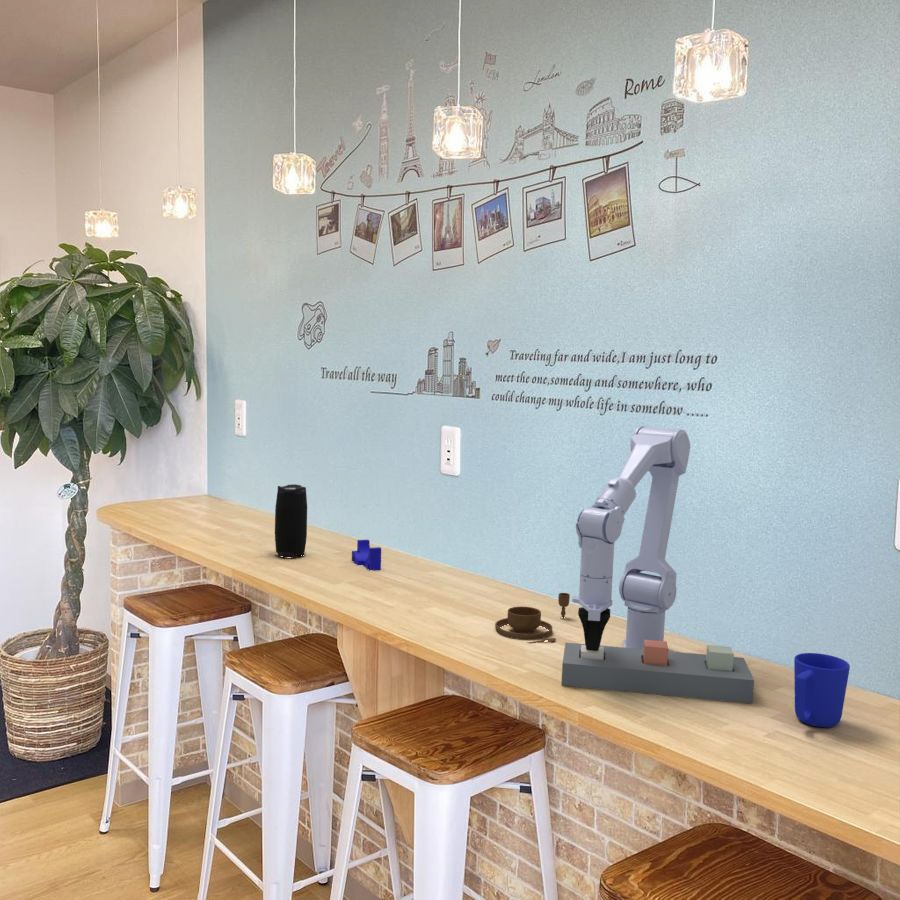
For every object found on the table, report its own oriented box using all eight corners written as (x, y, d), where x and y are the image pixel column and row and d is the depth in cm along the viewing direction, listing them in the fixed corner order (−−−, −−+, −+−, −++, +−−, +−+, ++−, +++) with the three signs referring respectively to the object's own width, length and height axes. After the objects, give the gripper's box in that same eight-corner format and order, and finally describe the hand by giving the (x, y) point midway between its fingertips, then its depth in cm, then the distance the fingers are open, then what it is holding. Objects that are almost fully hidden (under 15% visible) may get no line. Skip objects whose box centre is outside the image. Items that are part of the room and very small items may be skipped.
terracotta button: (642, 661, 163) (643, 639, 162) (665, 663, 162) (666, 641, 162) (643, 668, 159) (644, 646, 158) (666, 670, 158) (668, 648, 158)
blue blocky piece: (351, 561, 248) (352, 540, 248) (367, 560, 250) (367, 539, 250) (364, 571, 237) (364, 549, 237) (380, 570, 239) (381, 548, 239)
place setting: (481, 623, 195) (482, 596, 195) (564, 617, 202) (565, 591, 201) (513, 648, 179) (514, 619, 178) (603, 641, 186) (604, 613, 185)
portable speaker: (271, 558, 248) (272, 487, 246) (279, 551, 257) (280, 483, 255) (302, 560, 247) (303, 489, 245) (309, 552, 257) (310, 484, 255)
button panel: (564, 663, 169) (565, 642, 169) (742, 679, 164) (743, 657, 164) (561, 685, 158) (562, 663, 157) (752, 703, 152) (754, 680, 152)
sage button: (705, 666, 161) (707, 644, 161) (729, 668, 160) (730, 646, 160) (708, 674, 157) (709, 651, 157) (732, 676, 156) (733, 653, 156)
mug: (769, 726, 143) (774, 664, 142) (803, 707, 151) (807, 649, 150) (821, 743, 137) (826, 678, 136) (853, 722, 145) (858, 662, 144)
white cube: (580, 666, 165) (581, 644, 164) (602, 668, 164) (603, 646, 164) (579, 673, 161) (580, 651, 160) (602, 675, 160) (603, 653, 160)
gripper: (574, 564, 169) (571, 635, 170) (572, 582, 154) (568, 660, 156) (613, 567, 167) (609, 639, 169) (614, 585, 153) (609, 663, 154)
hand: (592, 649), depth 162 cm, fingers closed, pressing on white cube
